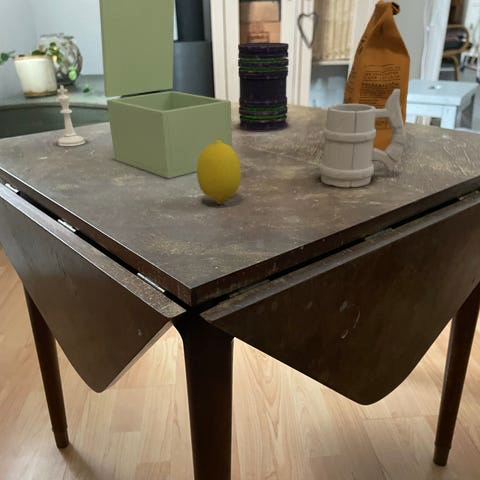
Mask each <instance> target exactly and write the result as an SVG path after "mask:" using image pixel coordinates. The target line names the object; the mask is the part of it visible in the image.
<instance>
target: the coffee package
mask: <svg viewBox="0 0 480 480" xmlns="http://www.w3.org/2000/svg"><path fill="white" fill-rule="evenodd" d="M400 12H401V6H400V4H399V3H397V2H396V1H394V0H392V1H384V0H378V1H377V2H376V3H375V4H374V9H373V12H372V15H371V16H370V19H369V20H368V22H367V24H366V27H365V29H364V31H363V33H362V35H361V38H360V40H359V42H358V44H357V47H356V50H355V53H354V57H353V61H352V65H351V69H350V71H349V75H348V78H347V81H346V84H345V87H344V92H343V93H344V95H343V101H342V104H364V105H369V106H373V107H375V109H384V108H385V104H386V102H387V99H388V98H389V96H391V94H392V93H393V91H394V90H395V89H400V95H399V103H400V107H401V114H402V119H403V124H404V126H406V121H407V104H408V95H409V81H410V70H411V57H410V53H409V50H408V48H407V46H406V43H405V41H404V39H403V37H402V35H401V32H400V31H399V29H398V25H397V23H396V21H395V18H394V16H397V15H398V14H400ZM374 128H375V129H376V136H375V138H374V139H373V148H377V149H379V150H381V151H385V149H386V148H387V147H388V146H389V144H391V138H392V134H393V133H392V128H391V126H390V125H389V123H388V121H387V118H376V119H375V125H374Z"/></svg>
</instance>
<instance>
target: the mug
mask: <svg viewBox="0 0 480 480" xmlns="http://www.w3.org/2000/svg"><path fill="white" fill-rule="evenodd" d="M399 95H400V89H395V90H394V91H393V93H392V94H391V96H389V98H388V99H387V102H386V104H385V108H384V109H375V107H373V106H369V105H364V104H343V103H338V104H336V103H335V104H332V105H329V106H328V107H327V109H326V110H327V112H326V121H325V127H324V128H323V130H322V137H323V138H324V142H323V152H322V160H321V162H320V163H319V166H318V171H319V173H320V180H321V182H322V183H324V184H325V185H327V186H334V187H338V188H357V187H363V186H366V185H369V184H370V183H371V179H372V176H373V174H374V172H375V164H374V163H373V161H374V162H379V163H381V164H383V166H384V167H385V169H386V170H387V171H393V170H394V168H395V165H397V162H399V160H400V159H401V157H402V155H403V152H404V145H405V143H406V141H407V134H406V129H405V125H404V124H403V119H402V114H401V107H400V103H399ZM376 118H387V121H388V123H389V125H390V126H391V128H392V133H393V134H392V138H391V144H389V146H388V147H387V148H386V149H385V151H381V150H379V149H377V148H373V139H374V138H375V136H376V129H375V128H374V125H375V119H376Z"/></svg>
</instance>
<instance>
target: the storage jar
mask: <svg viewBox="0 0 480 480" xmlns="http://www.w3.org/2000/svg"><path fill="white" fill-rule="evenodd" d="M237 47H238V48H237V50H238V54H237V57H238V59H237V67H238V72H237V73H238V77H239V98H238V105H239V107H238V114H239V120H240V122H239V128H240V129H242V130H244V131H249V132H250V131H251V132H273V131H280V130H284V129H286V128H287V127H288V126H287V125H288V123H287V118H288V115H287V114H288V109H289V107H288V97H287V81H288V80H287V77H288V76H289V67H288V66H289V65H290V64H289V63H290V62H289V61H290V59H289V47H290V46H289V43H287V42H249V43H240V44H238V45H237Z"/></svg>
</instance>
